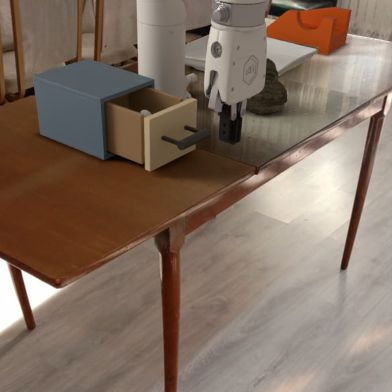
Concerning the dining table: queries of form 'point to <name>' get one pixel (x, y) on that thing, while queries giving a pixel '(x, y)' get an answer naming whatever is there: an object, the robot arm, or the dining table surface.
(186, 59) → the square plate
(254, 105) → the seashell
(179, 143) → the drawer
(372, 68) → the dining table surface
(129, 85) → the cabinet
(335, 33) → the tape dispenser
